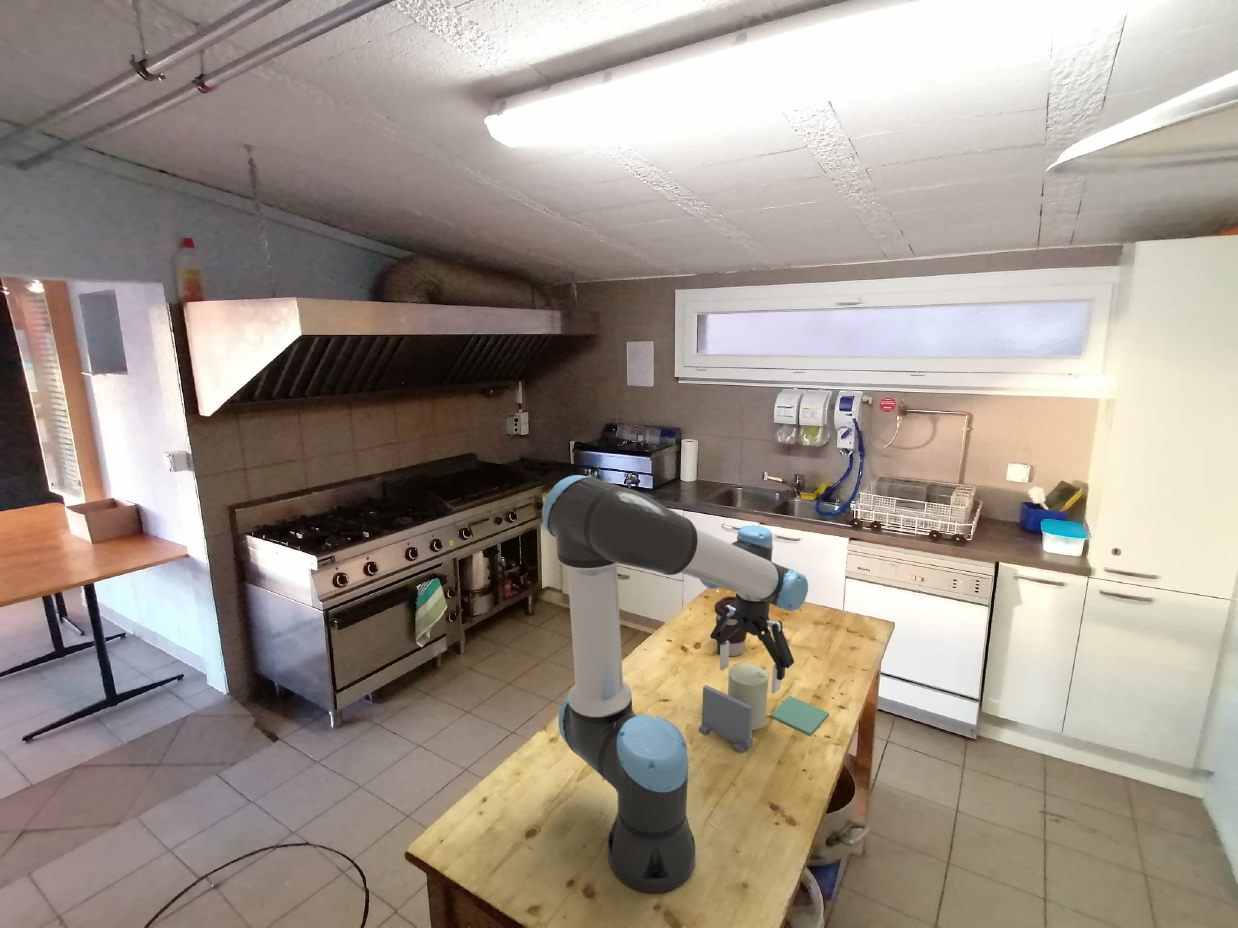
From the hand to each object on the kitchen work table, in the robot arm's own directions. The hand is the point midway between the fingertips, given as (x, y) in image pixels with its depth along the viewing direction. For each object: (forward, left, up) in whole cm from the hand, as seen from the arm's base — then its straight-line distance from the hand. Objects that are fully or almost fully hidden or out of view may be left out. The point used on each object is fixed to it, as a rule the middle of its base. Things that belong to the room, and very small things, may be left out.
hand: (749, 678), depth 137 cm
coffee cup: (+24, +19, -10) cm, 32 cm away
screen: (-9, 0, -10) cm, 14 cm away
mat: (+9, -9, -10) cm, 16 cm away
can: (0, 0, -10) cm, 10 cm away
